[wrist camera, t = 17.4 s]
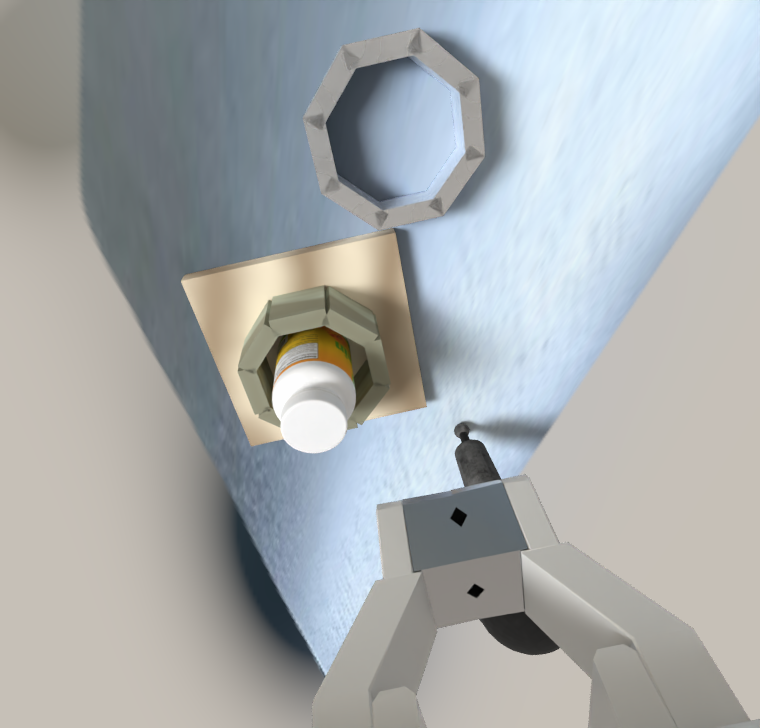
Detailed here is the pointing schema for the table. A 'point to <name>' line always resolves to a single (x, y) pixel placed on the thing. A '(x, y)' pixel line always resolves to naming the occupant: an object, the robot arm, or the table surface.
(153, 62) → the table surface
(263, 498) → the table surface
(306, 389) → the supplement bottle
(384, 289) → the socket board
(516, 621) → the microphone
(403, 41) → the holder ring
